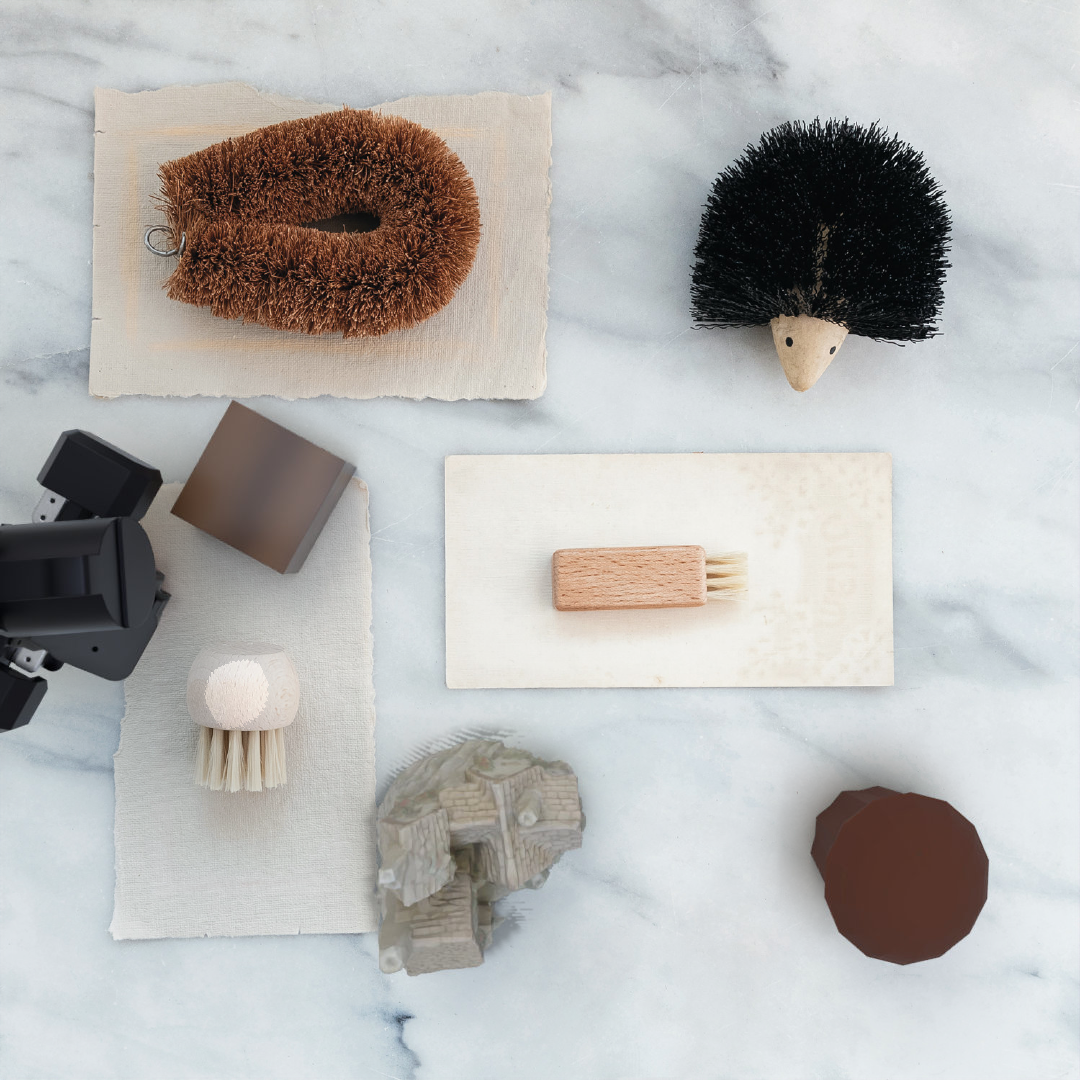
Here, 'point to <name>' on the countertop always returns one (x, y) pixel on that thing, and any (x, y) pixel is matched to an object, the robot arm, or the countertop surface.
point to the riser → (263, 489)
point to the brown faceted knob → (900, 873)
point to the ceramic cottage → (466, 849)
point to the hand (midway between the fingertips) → (110, 576)
